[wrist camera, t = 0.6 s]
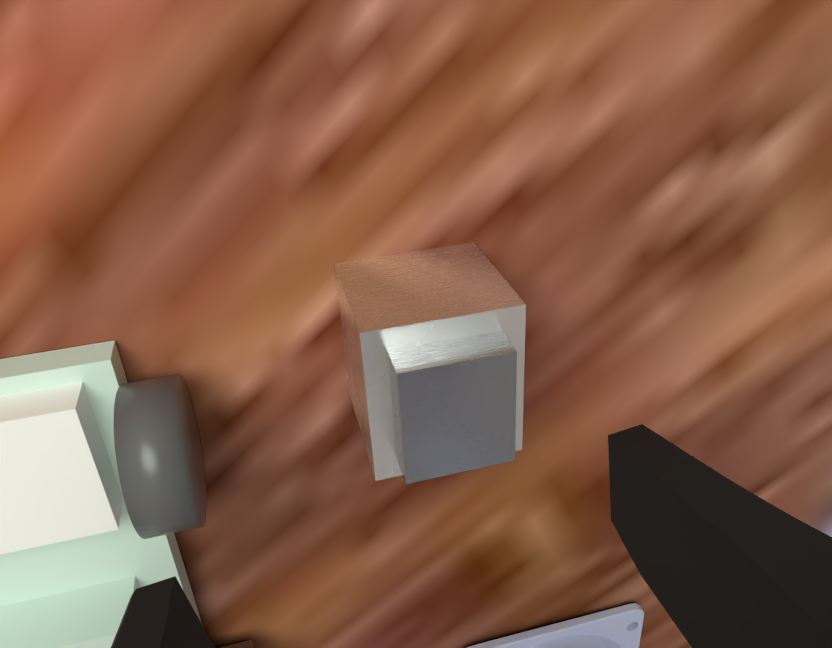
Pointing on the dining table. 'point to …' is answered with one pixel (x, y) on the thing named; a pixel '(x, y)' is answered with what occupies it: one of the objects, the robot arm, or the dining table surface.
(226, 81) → the dining table surface
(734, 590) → the robot arm
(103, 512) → the chassis
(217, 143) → the dining table surface
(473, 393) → the grey boxy piece
